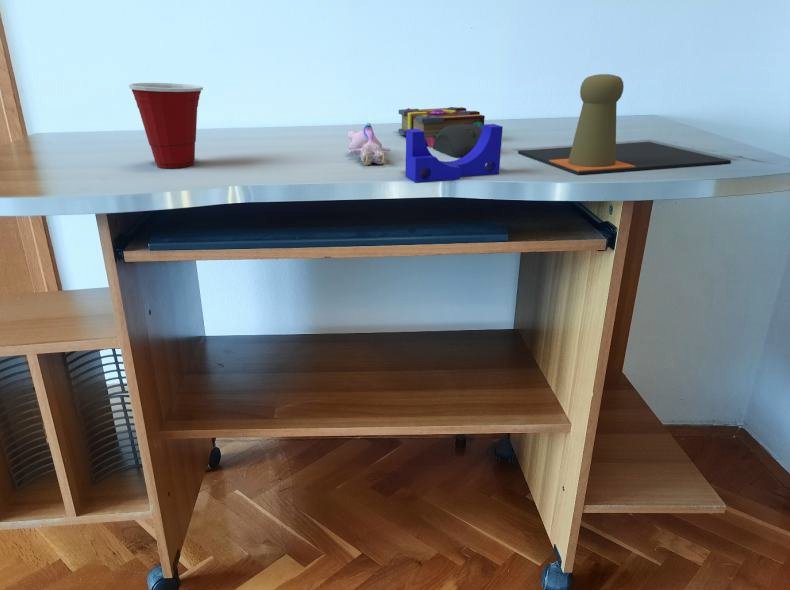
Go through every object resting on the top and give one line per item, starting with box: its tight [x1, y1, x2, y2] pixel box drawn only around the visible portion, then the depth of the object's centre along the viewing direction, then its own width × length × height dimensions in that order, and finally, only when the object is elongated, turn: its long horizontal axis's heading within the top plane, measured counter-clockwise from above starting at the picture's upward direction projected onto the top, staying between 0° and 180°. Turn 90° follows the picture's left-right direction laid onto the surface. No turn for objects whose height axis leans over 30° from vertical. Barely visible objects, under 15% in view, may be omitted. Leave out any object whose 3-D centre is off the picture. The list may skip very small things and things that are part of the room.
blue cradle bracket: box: [405, 123, 504, 183], centre depth 84 cm, size 12×4×6 cm, turn 100°
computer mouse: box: [432, 124, 482, 159], centre depth 101 cm, size 6×11×4 cm, turn 12°
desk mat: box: [517, 141, 732, 176], centre depth 92 cm, size 22×18×1 cm
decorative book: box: [398, 106, 486, 148], centre depth 113 cm, size 11×16×5 cm
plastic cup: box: [128, 82, 204, 169], centre depth 97 cm, size 11×11×12 cm
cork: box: [568, 73, 625, 167], centre depth 84 cm, size 6×6×11 cm
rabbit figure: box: [347, 122, 391, 167], centre depth 97 cm, size 6×6×15 cm
